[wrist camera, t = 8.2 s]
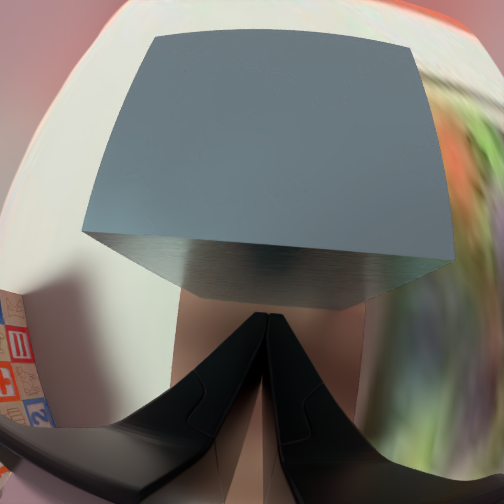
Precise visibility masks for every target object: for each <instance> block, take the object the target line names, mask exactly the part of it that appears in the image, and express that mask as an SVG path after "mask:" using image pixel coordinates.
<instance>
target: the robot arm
mask: <svg viewBox="0 0 504 504" xmlns="http://www.w3.org/2000/svg"><path fill="white" fill-rule="evenodd" d="M261 380H262V443H263V504H504V474H494V475H490V476H487V477H484V478H481V479H477V480H471V481H459V480H452V479H447V478H443V477H440V476H436V475H432V474H429V473H425V472H422V471H419V470H416V469H412V468H409V467H406V466H403V465H400V464H397V463H394V462H392V461H390V460H388V459H387V458H385V457H384V456H382V455H381V454H380V453H379V452H378V451H377V450H376V449H375V448H374V447H373V446H372V444H371V443H370V442H369V441H368V440H367V439H366V437H365V436H364V435H363V434H362V433H361V431H360V430H359V429H358V428H357V427H356V426H355V424H354V423H353V422H352V421H351V420H350V418H349V417H348V416H347V415H346V413H345V412H344V411H343V410H342V408H341V407H340V406H339V404H338V403H337V401H336V400H335V398H334V397H333V395H332V394H331V392H330V391H329V389H328V387H327V386H326V384H325V383H324V381H323V379H322V378H321V376H320V374H319V373H318V371H317V370H316V368H315V366H314V365H313V363H312V361H311V360H310V358H309V356H308V355H307V353H306V351H305V350H304V348H303V346H302V345H301V343H300V342H299V340H298V338H297V337H296V335H295V333H294V332H293V330H292V328H291V327H290V325H289V323H288V322H287V320H286V318H285V317H284V315H283V314H279V313H270V314H269V315H268V313H266V312H254V313H253V314H252V315H251V316H250V317H249V318H248V319H246V320H245V321H244V322H243V323H242V324H241V325H240V326H239V327H238V328H237V329H236V330H235V331H234V332H233V333H232V334H231V335H229V336H228V337H227V338H226V339H225V340H224V341H223V342H222V343H221V344H220V345H219V346H218V347H217V348H215V349H214V350H213V351H212V352H211V353H210V354H209V355H208V356H207V357H206V358H204V359H203V360H202V361H201V362H200V363H199V364H198V365H197V366H196V367H195V368H194V369H193V370H191V371H190V372H189V373H188V374H187V375H185V376H184V377H183V378H182V379H181V380H180V381H178V382H177V383H176V384H175V385H174V386H172V387H171V388H170V389H168V390H167V391H165V392H164V393H163V394H161V395H160V396H158V397H157V398H155V399H154V400H152V401H151V402H149V403H148V404H146V405H145V406H143V407H142V408H140V409H138V410H137V411H135V412H134V413H132V414H131V415H129V416H128V417H126V418H124V419H123V420H121V421H119V422H117V423H114V424H112V425H109V426H104V427H90V428H48V427H33V426H28V425H23V424H20V423H17V422H15V421H13V420H11V419H9V418H8V417H6V416H4V415H3V414H1V413H0V462H1V463H2V464H3V465H4V466H5V467H6V468H7V469H8V470H9V471H10V473H9V475H8V477H7V479H6V480H5V482H4V484H3V485H2V487H1V489H0V504H225V501H226V498H227V495H228V492H229V489H230V486H231V483H232V480H233V477H234V474H235V470H236V467H237V464H238V461H239V457H240V454H241V451H242V448H243V444H244V441H245V438H246V434H247V431H248V428H249V424H250V421H251V417H252V414H253V410H254V407H255V403H256V400H257V396H258V393H259V389H260V385H261Z"/></svg>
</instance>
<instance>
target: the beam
mask: <svg viewBox="0 0 504 504" xmlns="http://www.w3.org/2000/svg"><path fill="white" fill-rule="evenodd" d="M365 303H366V301H365V302H362V303H360V304H357V305H355V306H352V307H350V308H347V309H345V310H326V309H312V308H298V307H285V306H273V305H262V304H251V303H241V302H231V301H221V300H212V299H203V298H200V297H198V296H196V295H194V294H192V293H190V292H189V291H187V290H185V289H183V288H181V294H180V301H179V309H178V317H177V325H176V334H175V343H174V352H173V362H172V372H171V383H170V388H171V387H172V386H174V385H175V384H176V383H177V382H178V381H180V380H181V379H182V378H183V377H184V376H185V375H187V374H188V373H189V372H190V371H191V370H193V369H194V368H195V367H196V366H197V365H198V364H199V363H200V362H201V361H202V360H203V359H204V358H206V357H207V356H208V355H209V354H210V353H211V352H212V351H213V350H214V349H215V348H217V347H218V346H219V345H220V344H221V343H222V342H223V341H224V340H225V339H226V338H227V337H228V336H229V335H231V334H232V333H233V332H234V331H235V330H236V329H237V328H238V327H239V326H240V325H241V324H242V323H243V322H244V321H245V320H246V319H248V318H249V317H250V316H251V315H252V314H253V313H254V312H266V313H268V315H269V314H270V313H279V314H283V315H284V317H285V318H286V320H287V322H288V323H289V325H290V327H291V328H292V330H293V332H294V333H295V335H296V337H297V338H298V340H299V342H300V343H301V345H302V346H303V348H304V350H305V351H306V353H307V355H308V356H309V358H310V360H311V361H312V363H313V365H314V366H315V368H316V370H317V371H318V373H319V374H320V376H321V378H322V379H323V381H324V383H325V384H326V386H327V387H328V389H329V391H330V392H331V394H332V395H333V397H334V398H335V400H336V401H337V403H338V404H339V406H340V407H341V408H342V410H343V411H344V412H345V413H346V415H347V416H348V417H349V418H350V420H351V421H352V422H353V421H354V415H355V408H356V401H357V393H358V385H359V377H360V368H361V358H362V347H363V335H364V321H365ZM225 504H263V443H262V380H261V385H260V389H259V393H258V396H257V400H256V403H255V407H254V410H253V414H252V417H251V421H250V424H249V428H248V431H247V434H246V438H245V441H244V444H243V448H242V451H241V454H240V457H239V461H238V464H237V467H236V470H235V474H234V477H233V480H232V483H231V486H230V489H229V492H228V495H227V498H226V501H225Z"/></svg>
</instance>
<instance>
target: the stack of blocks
mask: <svg viewBox="0 0 504 504" xmlns="http://www.w3.org/2000/svg"><path fill="white" fill-rule="evenodd" d="M0 413H1V414H3V415H4V416H6V417H8V418H9V419H11V420H13V421H15V422H17V423H20V424H23V425H28V426H33V427H48V428H56V427H55V425H54V422H53V419H52V417H51V414H50V411H49V408H48V405H47V402H46V399H45V398H44V393H43V390H42V387H41V384H40V380H39V377H38V373H37V369H36V366H35V360H34V355H33V351H32V347H31V343H30V338H29V333H28V328H27V322H26V317H25V311H24V305H23V298H22V295H19V294H15V293H11V292H8V291H4V290H0ZM9 473H10V471H9V470H8V469H7V468H6V467H5V466H4V465H3V464H2V463H1V462H0V489H1V487H2V485H3V484H4V482H5V480H6V479H7V477H8V475H9Z"/></svg>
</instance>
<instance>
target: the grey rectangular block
mask: <svg viewBox="0 0 504 504" xmlns="http://www.w3.org/2000/svg"><path fill="white" fill-rule="evenodd" d="M82 232H84V233H85V234H87V235H89V236H90V237H92V238H94V239H95V240H97V241H99V242H100V243H102V244H104V245H106V246H107V247H109V248H111V249H112V250H114V251H116V252H118V253H119V254H121V255H123V256H125V257H126V258H128V259H130V260H132V261H133V262H135V263H137V264H139V265H140V266H142V267H144V268H146V269H148V270H149V271H151V272H153V273H155V274H157V275H159V276H160V277H162V278H164V279H166V280H168V281H170V282H172V283H173V284H175V285H177V286H179V287H181V288H183V289H185V290H187V291H189V292H190V293H192V294H194V295H196V296H198V297H200V298H203V299H212V300H221V301H231V302H241V303H251V304H262V305H273V306H285V307H298V308H312V309H326V310H345V309H347V308H350V307H352V306H355V305H357V304H360V303H362V302H365V301H367V300H369V299H372V298H374V297H376V296H379V295H381V294H384V293H386V292H388V291H390V290H393V289H395V288H397V287H400V286H402V285H404V284H406V283H409V282H411V281H413V280H415V279H417V278H419V277H422V276H424V275H426V274H428V273H430V272H432V271H434V270H436V269H439V268H441V267H443V266H445V265H447V264H449V263H451V262H453V261H455V249H454V236H453V226H452V217H451V209H450V201H449V194H448V188H447V182H446V176H445V170H444V165H443V160H442V155H441V150H440V146H439V141H438V137H437V133H436V129H435V125H434V121H433V117H432V114H431V110H430V106H429V103H428V100H427V96H426V93H425V90H424V87H423V83H422V80H421V77H420V75H419V72H418V69H417V66H416V63H415V60H414V58H413V55H412V52H411V50H410V48H407V47H403V46H399V45H395V44H390V43H385V42H380V41H375V40H370V39H364V38H358V37H352V36H345V35H337V34H329V33H320V32H309V31H295V30H272V29H238V30H215V31H201V32H190V33H181V34H173V35H165V36H158V37H155V38H154V40H153V42H152V44H151V46H150V48H149V49H148V51H147V53H146V55H145V57H144V59H143V61H142V63H141V65H140V67H139V69H138V72H137V74H136V76H135V78H134V80H133V82H132V84H131V87H130V89H129V91H128V93H127V96H126V98H125V100H124V103H123V105H122V107H121V110H120V112H119V115H118V117H117V120H116V122H115V125H114V127H113V130H112V133H111V135H110V138H109V141H108V144H107V146H106V149H105V152H104V155H103V158H102V161H101V164H100V167H99V170H98V173H97V176H96V180H95V183H94V186H93V190H92V193H91V196H90V200H89V204H88V207H87V211H86V215H85V219H84V223H83V227H82Z"/></svg>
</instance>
